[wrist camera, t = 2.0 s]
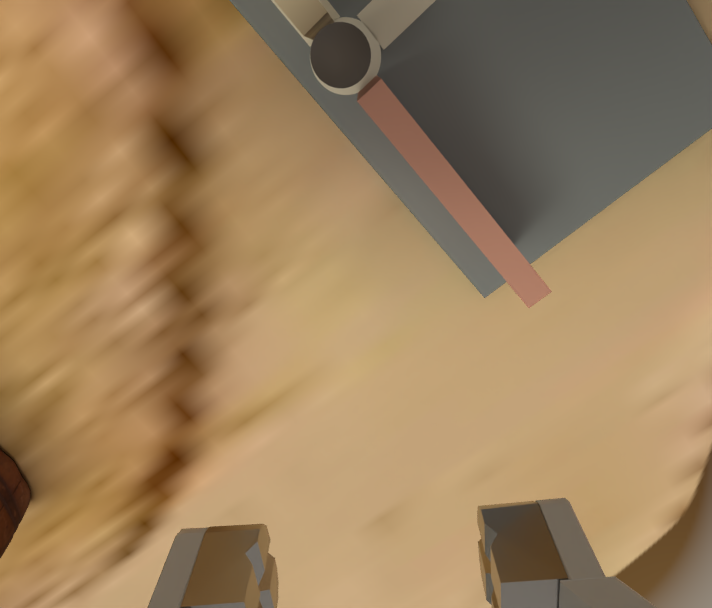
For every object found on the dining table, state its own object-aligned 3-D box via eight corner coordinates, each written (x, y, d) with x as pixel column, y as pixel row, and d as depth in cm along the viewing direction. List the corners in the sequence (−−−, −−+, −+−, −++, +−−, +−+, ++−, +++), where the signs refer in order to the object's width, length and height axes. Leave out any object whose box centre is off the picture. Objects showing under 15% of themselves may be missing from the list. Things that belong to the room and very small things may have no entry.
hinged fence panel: (357, 92, 22) (356, 101, 17) (376, 74, 22) (381, 78, 17) (497, 262, 25) (528, 308, 20) (516, 248, 25) (551, 291, 20)
